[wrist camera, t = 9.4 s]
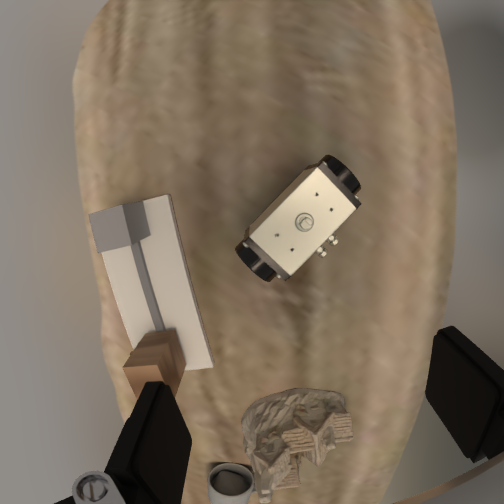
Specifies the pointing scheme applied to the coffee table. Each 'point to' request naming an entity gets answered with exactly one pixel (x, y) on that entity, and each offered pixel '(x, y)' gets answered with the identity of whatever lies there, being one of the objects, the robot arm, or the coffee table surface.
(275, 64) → the coffee table surface
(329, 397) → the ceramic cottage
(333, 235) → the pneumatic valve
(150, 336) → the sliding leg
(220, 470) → the ceramic mug
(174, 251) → the board
